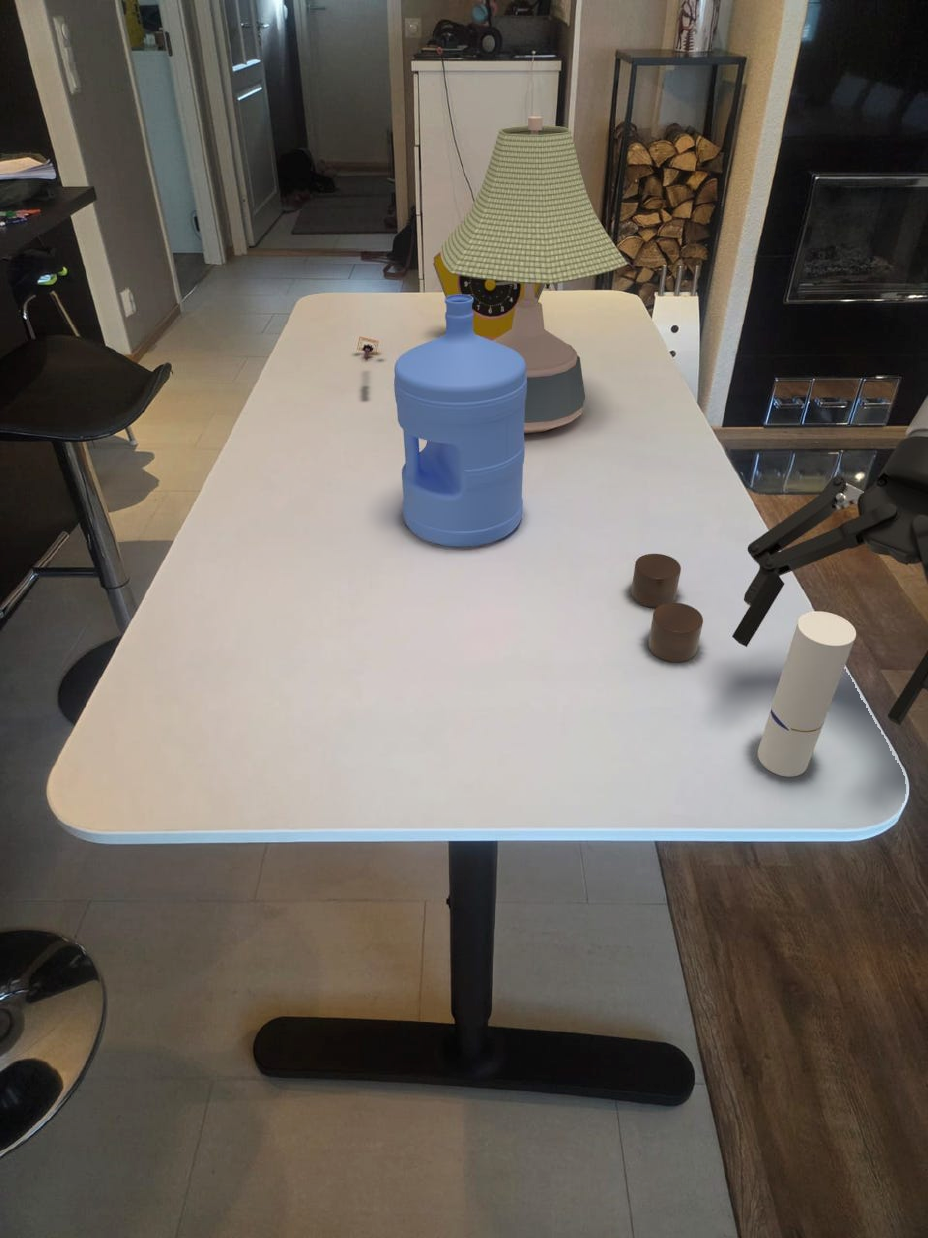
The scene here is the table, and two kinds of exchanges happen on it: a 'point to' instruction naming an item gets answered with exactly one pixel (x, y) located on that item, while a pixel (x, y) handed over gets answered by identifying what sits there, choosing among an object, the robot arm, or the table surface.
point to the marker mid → (675, 632)
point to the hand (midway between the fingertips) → (811, 679)
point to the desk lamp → (535, 254)
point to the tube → (805, 691)
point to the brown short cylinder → (655, 580)
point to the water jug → (462, 433)
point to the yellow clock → (485, 299)
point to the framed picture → (367, 347)
